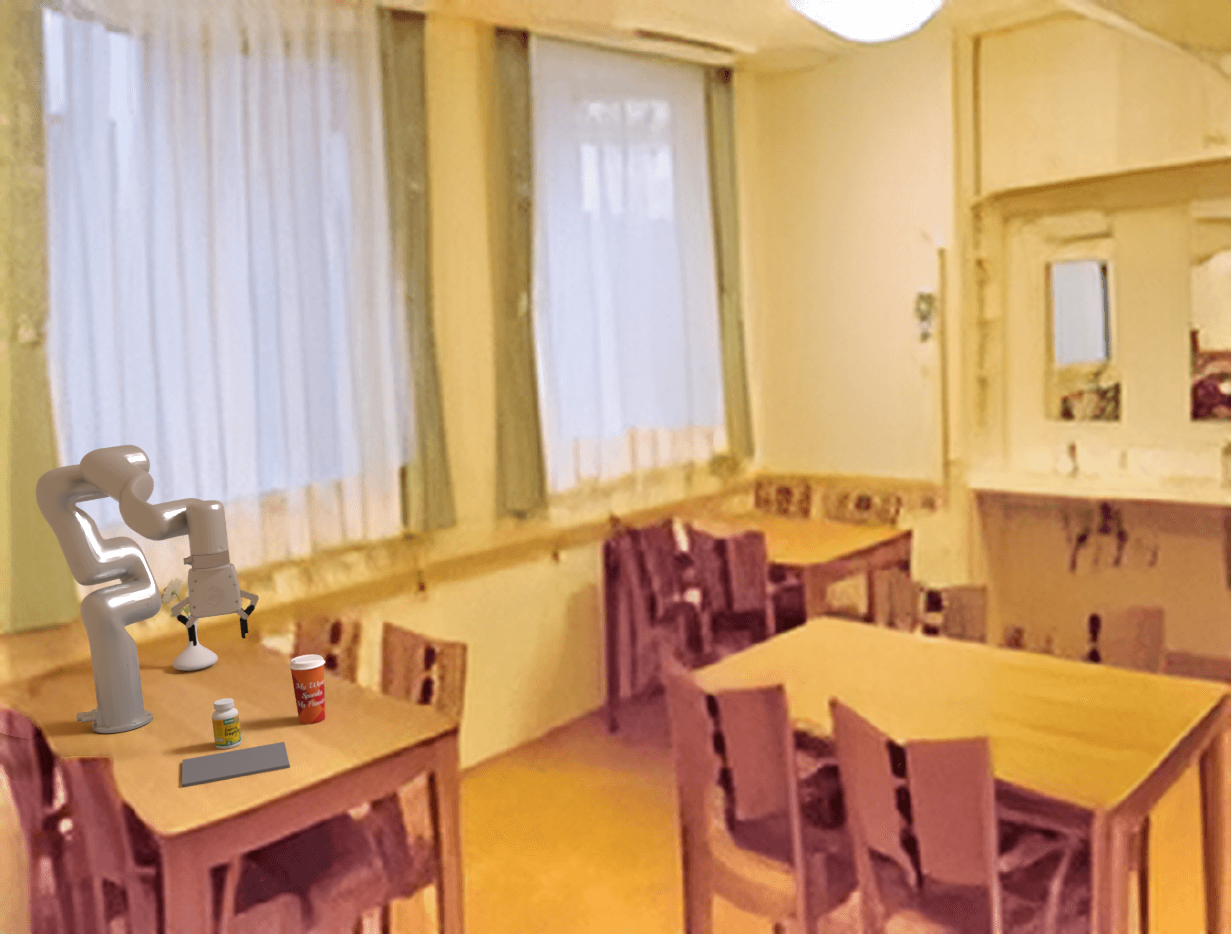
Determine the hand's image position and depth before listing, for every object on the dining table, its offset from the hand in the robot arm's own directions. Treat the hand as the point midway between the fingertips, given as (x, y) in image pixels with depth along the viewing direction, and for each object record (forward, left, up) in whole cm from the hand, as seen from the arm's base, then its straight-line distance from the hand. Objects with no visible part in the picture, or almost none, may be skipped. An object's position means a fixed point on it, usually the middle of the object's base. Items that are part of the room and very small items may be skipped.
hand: (219, 640), depth 234 cm
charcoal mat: (+1, -13, -23) cm, 26 cm away
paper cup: (+18, +7, -23) cm, 29 cm away
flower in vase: (-7, +66, -23) cm, 70 cm away
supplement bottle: (0, 0, -23) cm, 23 cm away
